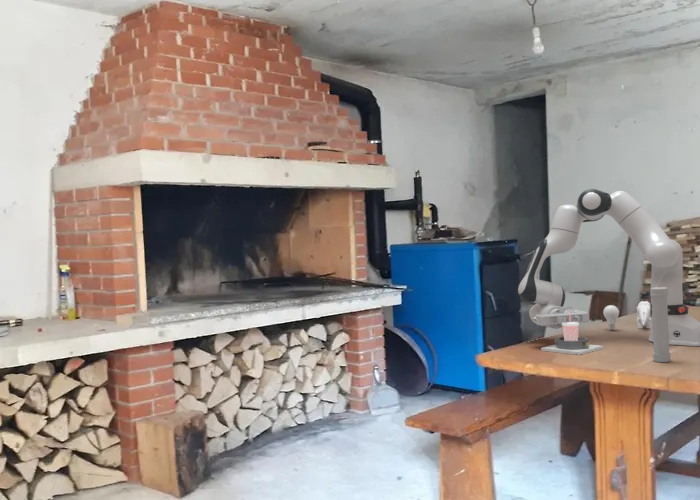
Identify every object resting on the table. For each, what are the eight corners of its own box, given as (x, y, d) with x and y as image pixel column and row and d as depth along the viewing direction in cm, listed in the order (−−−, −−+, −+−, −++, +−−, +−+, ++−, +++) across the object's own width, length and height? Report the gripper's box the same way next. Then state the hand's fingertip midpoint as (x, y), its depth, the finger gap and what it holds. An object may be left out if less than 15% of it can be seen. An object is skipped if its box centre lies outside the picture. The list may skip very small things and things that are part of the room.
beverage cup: (578, 348, 249) (577, 310, 249) (561, 348, 252) (559, 310, 251) (580, 345, 255) (579, 308, 254) (564, 345, 257) (562, 308, 257)
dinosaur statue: (654, 322, 304) (653, 298, 303) (652, 336, 283) (651, 309, 282) (637, 322, 307) (636, 298, 306) (634, 335, 286) (633, 309, 285)
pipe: (649, 360, 227) (645, 270, 227) (667, 358, 228) (663, 269, 227) (658, 363, 222) (654, 271, 221) (676, 361, 222) (673, 270, 222)
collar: (596, 346, 252) (596, 338, 251) (580, 350, 244) (579, 342, 244) (564, 343, 262) (564, 335, 262) (547, 347, 255) (547, 339, 255)
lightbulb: (621, 331, 289) (620, 305, 288) (605, 331, 290) (604, 306, 290) (618, 329, 295) (617, 304, 294) (602, 329, 296) (601, 304, 296)
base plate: (603, 348, 252) (603, 345, 252) (579, 355, 242) (579, 352, 242) (565, 344, 264) (565, 341, 264) (541, 350, 254) (541, 347, 254)
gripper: (529, 310, 264) (545, 313, 250) (577, 307, 267) (596, 309, 254) (530, 326, 264) (546, 330, 250) (578, 323, 267) (597, 326, 254)
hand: (572, 320), depth 252 cm, fingers closed on beverage cup, 3 cm apart
